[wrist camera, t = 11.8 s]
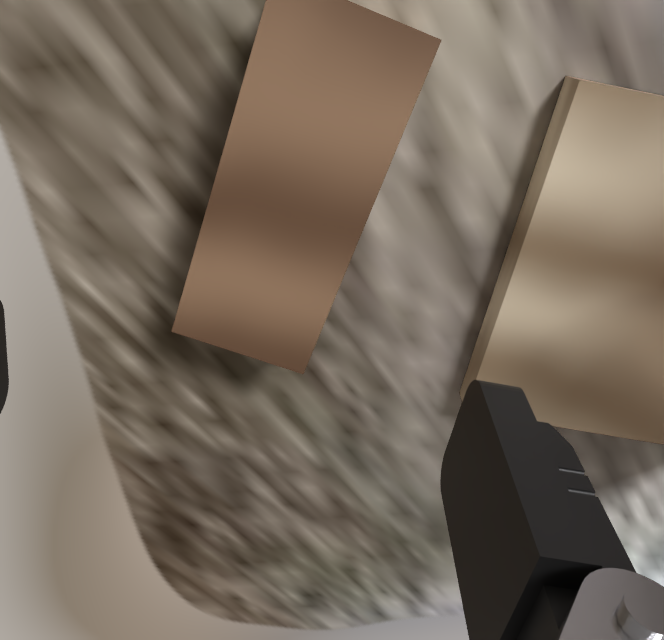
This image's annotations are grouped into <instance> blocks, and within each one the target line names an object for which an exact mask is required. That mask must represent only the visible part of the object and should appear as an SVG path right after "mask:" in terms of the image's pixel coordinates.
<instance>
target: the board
mask: <svg viewBox="0 0 664 640" xmlns="http://www.w3.org/2000/svg"><path fill="white" fill-rule="evenodd" d="M473 380H481V381H487V382H493V383H499V384H504V385H510V386H516V387H520V388H521V389H522V390H523V391H524V393H525V395H526V398H527V400H528V402H529V404H530V406H531V409H532V411H533V413H534V415H535V417H536V420H537V421H539V422H545V423H549V424H550V425H551V426H555V427H561V428H567V429H573V430H579V431H585V432H591V433H597V434H603V435H609V436H615V437H621V438H627V439H633V440H639V441H645V442H651V443H657V444H663V445H664V96H662V95H657V94H653V93H648V92H643V91H638V90H633V89H628V88H623V87H619V86H614V85H609V84H604V83H599V82H594V81H589V80H585V79H580V78H575V77H570V76H565V79H564V82H563V85H562V88H561V91H560V94H559V97H558V100H557V103H556V106H555V109H554V112H553V115H552V118H551V121H550V124H549V127H548V130H547V133H546V136H545V139H544V142H543V145H542V148H541V151H540V154H539V157H538V160H537V163H536V166H535V169H534V172H533V175H532V178H531V181H530V184H529V187H528V190H527V193H526V196H525V199H524V202H523V204H522V207H521V210H520V213H519V216H518V219H517V222H516V225H515V228H514V231H513V234H512V237H511V240H510V243H509V246H508V249H507V252H506V255H505V258H504V261H503V264H502V267H501V270H500V273H499V276H498V279H497V282H496V285H495V288H494V291H493V294H492V297H491V300H490V303H489V306H488V309H487V312H486V315H485V318H484V321H483V324H482V327H481V330H480V333H479V336H478V338H477V341H476V344H475V347H474V350H473V353H472V356H471V359H470V362H469V365H468V368H467V371H466V374H465V377H464V380H463V383H462V386H461V389H460V392H459V393H460V397H461V400H462V402H463V399H464V396H465V393H466V390H467V388H468V386H469V384H470V383H471V382H472V381H473Z"/></svg>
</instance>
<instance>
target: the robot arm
mask: <svg viewBox="0 0 664 640" xmlns="http://www.w3.org/2000/svg"><path fill="white" fill-rule="evenodd" d="M5 334H6V333H5V319H4V309H3V305H2V302H1V301H0V413H1V411H2V409H3V406H4V404H5V401H6V397H7V393H8V385H9V378H8V363H7V348H6V335H5ZM584 472H585V471H584V469H583V467H582V465H581V463H580V461H579V459H578V457H577V455H576V453H575V451H574V449H573V447H572V446H571V445H570V444H569V443H568V442H567V441H566V440H565V439H564V438H563V437H562V436H561V435H560V434H559V433H558V432H557V431H556V430H555V429H554V428H553V427H552V426H551V425H550V424H549V423H545V422H539V421H537V420H536V417H535V415H534V413H533V411H532V409H531V406H530V404H529V402H528V400H527V398H526V395H525V393H524V391H523V390H522V389H521V388H520V387H516V386H510V385H504V384H499V383H493V382H487V381H481V380H473V381H472V382H471V383H470V384H469V386H468V388H467V390H466V393H465V396H464V399H463V402H462V404H461V407H460V410H459V413H458V416H457V419H456V422H455V425H454V428H453V431H452V433H451V436H450V439H449V442H448V445H447V448H446V451H445V454H444V458H443V462H442V469H441V494H442V499H443V505H444V510H445V515H446V520H447V525H448V531H449V536H450V541H451V546H452V551H453V557H454V562H455V567H456V572H457V578H458V583H459V588H460V593H461V598H462V604H463V609H464V614H465V619H466V624H467V629H468V635H469V640H664V587H663V586H661V585H660V584H658V583H657V582H655V581H653V580H651V579H649V578H647V577H645V576H643V575H640V574H638V573H636V571H635V569H634V567H633V565H632V563H631V561H630V559H629V557H628V555H627V553H626V551H625V549H624V547H623V545H622V543H621V541H620V540H619V538H618V536H617V534H616V532H615V530H614V528H613V526H612V524H611V522H610V520H609V518H608V516H607V514H606V512H605V510H604V508H603V506H602V504H601V502H600V500H599V498H598V497H595V490H594V488H593V486H592V484H591V482H590V480H589V478H588V476H584Z"/></svg>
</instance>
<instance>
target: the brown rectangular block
mask: <svg viewBox="0 0 664 640" xmlns="http://www.w3.org/2000/svg"><path fill="white" fill-rule="evenodd" d="M440 42H441V40H440V39H438V38H436V37H433V36H431V35H428V34H426V33H424V32H421V31H419V30H417V29H414V28H412V27H409V26H407V25H405V24H402V23H400V22H398V21H395V20H393V19H390V18H388V17H386V16H383V15H381V14H379V13H376V12H374V11H371V10H369V9H367V8H364V7H362V6H359V5H357V4H355V3H352V2H350V1H348V0H266V2H265V6H264V9H263V13H262V16H261V20H260V23H259V27H258V30H257V34H256V37H255V41H254V44H253V48H252V51H251V55H250V58H249V62H248V65H247V69H246V72H245V76H244V79H243V83H242V86H241V90H240V93H239V97H238V100H237V104H236V107H235V111H234V114H233V118H232V121H231V125H230V128H229V132H228V135H227V139H226V142H225V146H224V149H223V153H222V156H221V160H220V163H219V167H218V170H217V174H216V177H215V181H214V184H213V188H212V191H211V195H210V198H209V202H208V205H207V209H206V212H205V216H204V219H203V223H202V226H201V230H200V233H199V237H198V240H197V244H196V247H195V251H194V254H193V258H192V261H191V265H190V268H189V272H188V275H187V279H186V282H185V286H184V289H183V293H182V296H181V300H180V303H179V307H178V310H177V314H176V317H175V321H174V324H173V328H172V331H171V332H174V333H177V334H180V335H184V336H187V337H190V338H193V339H196V340H199V341H202V342H205V343H208V344H211V345H214V346H218V347H221V348H224V349H227V350H230V351H233V352H236V353H239V354H242V355H245V356H248V357H252V358H255V359H258V360H261V361H264V362H267V363H270V364H273V365H276V366H279V367H283V368H286V369H289V370H292V371H295V372H298V373H301V374H304V371H305V369H306V367H307V364H308V362H309V359H310V357H311V355H312V352H313V350H314V347H315V345H316V342H317V340H318V338H319V335H320V333H321V330H322V328H323V325H324V323H325V321H326V318H327V316H328V313H329V311H330V309H331V306H332V304H333V301H334V299H335V296H336V294H337V292H338V289H339V287H340V284H341V282H342V280H343V277H344V275H345V272H346V270H347V267H348V265H349V263H350V260H351V258H352V255H353V253H354V251H355V248H356V246H357V243H358V241H359V238H360V236H361V234H362V231H363V229H364V226H365V224H366V221H367V219H368V217H369V214H370V212H371V209H372V207H373V205H374V202H375V200H376V197H377V195H378V192H379V190H380V188H381V185H382V183H383V180H384V178H385V176H386V173H387V171H388V168H389V166H390V163H391V161H392V159H393V156H394V154H395V151H396V149H397V146H398V144H399V142H400V139H401V137H402V134H403V132H404V130H405V127H406V125H407V122H408V120H409V117H410V115H411V113H412V110H413V108H414V105H415V103H416V101H417V98H418V96H419V93H420V91H421V88H422V86H423V84H424V81H425V79H426V76H427V74H428V72H429V69H430V67H431V64H432V62H433V59H434V57H435V55H436V52H437V50H438V47H439V45H440Z"/></svg>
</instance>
